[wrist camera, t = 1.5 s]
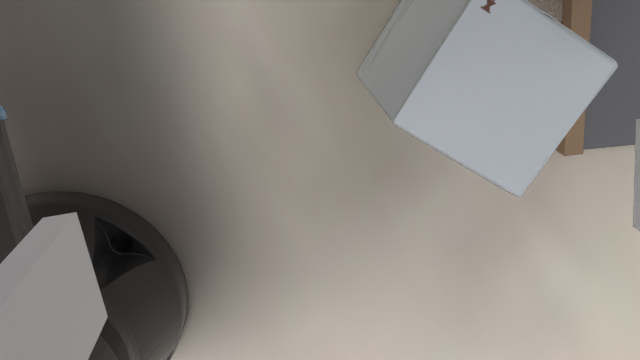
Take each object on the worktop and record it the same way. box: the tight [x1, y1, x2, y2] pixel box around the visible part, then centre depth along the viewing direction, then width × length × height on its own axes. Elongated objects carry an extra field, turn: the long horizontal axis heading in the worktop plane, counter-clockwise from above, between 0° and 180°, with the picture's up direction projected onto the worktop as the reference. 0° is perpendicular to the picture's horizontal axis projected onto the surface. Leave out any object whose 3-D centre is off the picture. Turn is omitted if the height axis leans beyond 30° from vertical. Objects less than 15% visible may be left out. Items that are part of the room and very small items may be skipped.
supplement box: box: [357, 0, 618, 197], centre depth 32 cm, size 7×7×13 cm
